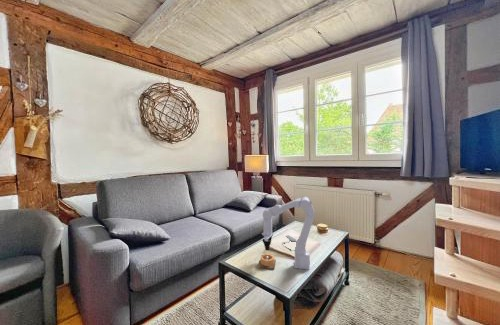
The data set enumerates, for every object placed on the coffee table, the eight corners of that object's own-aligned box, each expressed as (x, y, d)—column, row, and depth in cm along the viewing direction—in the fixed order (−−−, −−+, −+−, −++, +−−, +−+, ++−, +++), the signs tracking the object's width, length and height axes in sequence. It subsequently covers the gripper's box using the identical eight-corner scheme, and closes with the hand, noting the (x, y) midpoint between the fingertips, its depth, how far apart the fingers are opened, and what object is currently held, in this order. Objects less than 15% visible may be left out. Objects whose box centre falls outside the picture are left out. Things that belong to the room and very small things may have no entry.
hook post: (269, 262, 138) (268, 256, 137) (268, 263, 136) (268, 257, 135) (266, 261, 138) (265, 255, 138) (265, 263, 136) (265, 257, 136)
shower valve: (293, 233, 172) (305, 241, 159) (293, 240, 173) (305, 248, 159) (280, 236, 167) (291, 244, 154) (280, 243, 168) (291, 251, 154)
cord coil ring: (274, 259, 140) (274, 254, 140) (273, 266, 132) (273, 261, 132) (262, 258, 142) (262, 253, 142) (260, 265, 134) (259, 259, 134)
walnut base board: (275, 261, 141) (275, 259, 141) (274, 269, 131) (274, 267, 131) (261, 259, 143) (261, 258, 143) (258, 268, 133) (258, 266, 133)
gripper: (263, 223, 147) (263, 241, 148) (259, 231, 133) (260, 252, 134) (273, 223, 145) (273, 242, 146) (271, 231, 131) (271, 253, 132)
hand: (268, 247), depth 140 cm, fingers open, 7 cm apart
